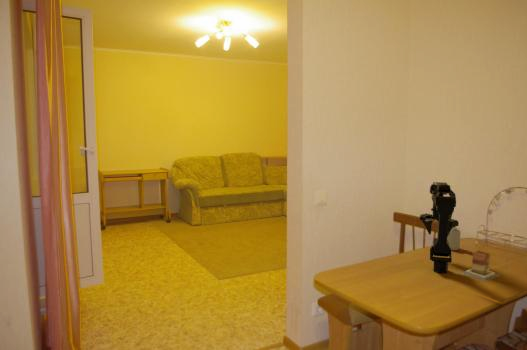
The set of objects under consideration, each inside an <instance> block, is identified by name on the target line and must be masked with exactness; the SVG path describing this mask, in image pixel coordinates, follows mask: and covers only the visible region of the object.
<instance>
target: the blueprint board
mask: <svg viewBox="0 0 527 350" xmlns="http://www.w3.org/2000/svg"><path fill="white" fill-rule="evenodd" d="M460 274H463V275H467V276H469V277H472V278H475V279H478V280H481V281H484V282H488V281H490V280H492V279H495V278H497V277H500V276H501V274H499V273H496V272H494V271H491V270H489V274H487V275H485V276H482V275H479V274H476V273H473V272H472V267H471V268H469V269H466V270H463V271H461V272H460Z"/></svg>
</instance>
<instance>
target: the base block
mask: <svg viewBox="0 0 527 350" xmlns="http://www.w3.org/2000/svg"><path fill="white" fill-rule="evenodd" d="M471 263H472V262H471ZM471 268H472V272H473V273H476V274H479V275H482V276H485V275H487V274H489V271H490V263H489V264H488V265H485V266H481V265H477V264H474V263H472V265H471Z"/></svg>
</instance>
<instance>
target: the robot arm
mask: <svg viewBox="0 0 527 350" xmlns="http://www.w3.org/2000/svg"><path fill="white" fill-rule="evenodd" d="M429 194H430V195H431V200H432V208H431V209H430V211H431V212H432V214H431V213H422V214H420V215H419V220H420V221H421V223H422V224H423V225H424V227H425V229H426V231H427V233H428V235H431V234H432V225H433V224H432V223H433V222H437V234H436V235H437V237H435V238H433V240H432V241H433V242H432V245H431V247H430V248H429V260H430V261H431V262H433V272H434V273H437V274H448V271H449V264H450V263H452V250H451V247H450V246H449V242H448V239H447V237H448V235H449V233H450V231H451V229H452V228H454V227H456V228H457V227H458V226H459V221H458V220H457V219H453V218H452V216H453V213H454V212H455V208H456V207H457V197H456V193H455V192H454V191H453V190H452V188H451V185H449V184H448V183H447V182H439V181H438V182H437V181H436V182H432V184H431V185H430V187H429ZM445 195H446V196H445ZM447 195H448V196H447Z"/></svg>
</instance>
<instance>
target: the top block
mask: <svg viewBox="0 0 527 350" xmlns="http://www.w3.org/2000/svg"><path fill="white" fill-rule="evenodd" d="M490 259H491V253H489V252H485V251H482V250H477V251H473V252H472V262H471V263H474V264H477V265H481V266H485V265H488V264H489V265H490Z"/></svg>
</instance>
